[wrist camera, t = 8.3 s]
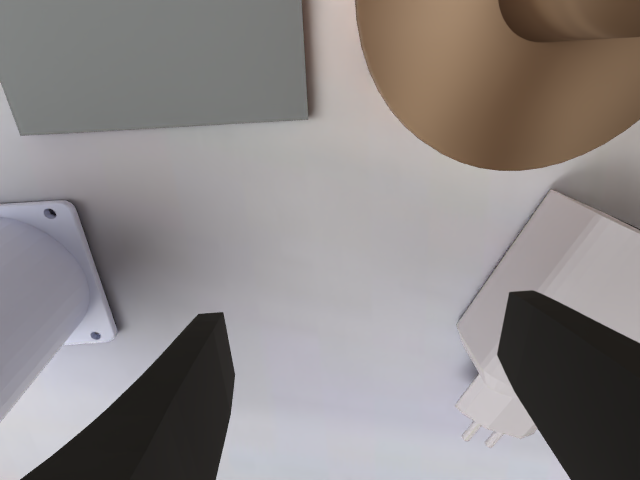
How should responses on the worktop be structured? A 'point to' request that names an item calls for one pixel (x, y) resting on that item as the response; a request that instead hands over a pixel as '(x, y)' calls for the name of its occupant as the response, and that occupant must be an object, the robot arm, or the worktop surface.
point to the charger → (557, 283)
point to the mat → (151, 63)
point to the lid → (506, 75)
